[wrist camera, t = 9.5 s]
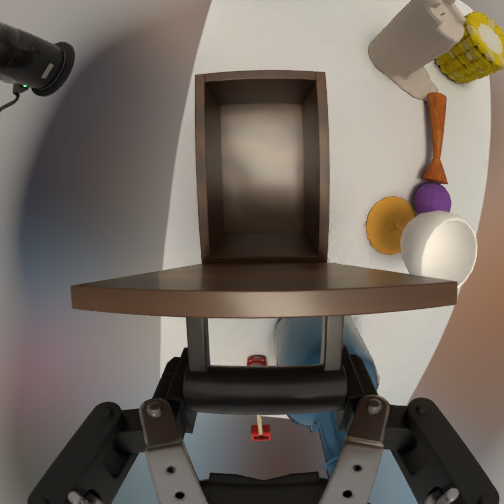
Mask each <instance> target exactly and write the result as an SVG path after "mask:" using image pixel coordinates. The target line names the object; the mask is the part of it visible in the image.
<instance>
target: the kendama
mask: <svg viewBox="0 0 504 504" xmlns="http://www.w3.org/2000/svg"><path fill="white" fill-rule="evenodd" d="M427 100H428V106H429V114H430V123H431V132H432V144H433V159H432V161H431V163H430V165H429V167H428V169H427V170H426V172H425V174H424V176H423V178H422V179H424V180H427V181H430V182H429V183H425V184H423V185H422V186H421V187H420V188H418V190H417V192H416V194H415V200H414V204H415V208H416V211H417V213H418V214H421V213H427V212H432V211H438V210H439V211H446V212H450V208H451V199H450V195H449V193H448V192H447V190H446V189H445V188H444V187H443V186H442V185H440V184H448V182H447V179H446V176H445V173H444V169H443V166H442V163H441V161H440V155H441V148H442V141H443V133H444V123H445V112H446V96H445V95H443V94H441V93H437V92H430V93H428V94H427Z"/></svg>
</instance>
